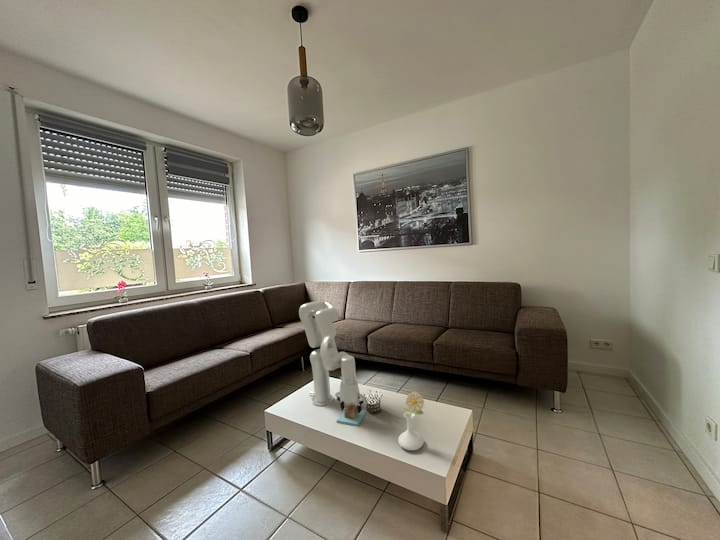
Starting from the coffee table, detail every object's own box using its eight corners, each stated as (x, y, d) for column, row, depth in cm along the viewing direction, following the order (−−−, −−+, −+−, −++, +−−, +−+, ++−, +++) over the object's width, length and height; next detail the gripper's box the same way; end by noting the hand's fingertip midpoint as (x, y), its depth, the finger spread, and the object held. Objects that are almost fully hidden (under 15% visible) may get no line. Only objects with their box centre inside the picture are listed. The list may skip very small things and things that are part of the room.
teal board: (336, 422, 148) (336, 420, 148) (346, 410, 159) (345, 408, 159) (357, 426, 144) (357, 424, 144) (365, 413, 155) (365, 411, 155)
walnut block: (344, 417, 150) (344, 408, 150) (348, 412, 155) (348, 403, 155) (354, 419, 148) (353, 410, 148) (358, 413, 153) (357, 404, 153)
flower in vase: (394, 448, 126) (390, 394, 125) (404, 433, 136) (401, 383, 134) (422, 457, 119) (419, 400, 118) (430, 441, 129) (428, 388, 127)
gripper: (331, 381, 150) (333, 412, 151) (361, 384, 143) (363, 417, 145) (337, 374, 157) (339, 404, 158) (366, 378, 150) (368, 409, 152)
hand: (351, 410), depth 151 cm, fingers open, 9 cm apart
